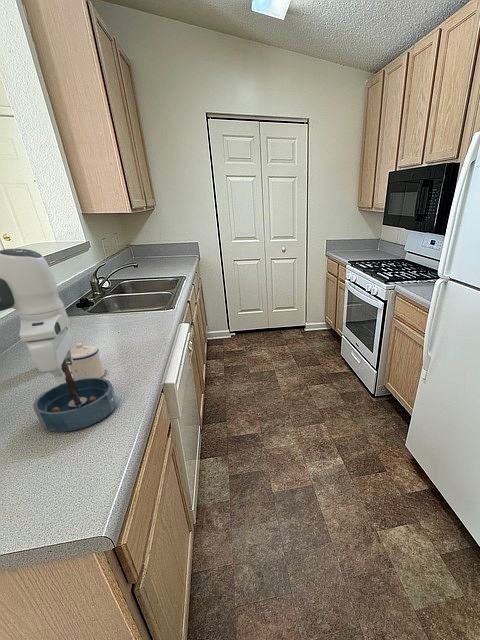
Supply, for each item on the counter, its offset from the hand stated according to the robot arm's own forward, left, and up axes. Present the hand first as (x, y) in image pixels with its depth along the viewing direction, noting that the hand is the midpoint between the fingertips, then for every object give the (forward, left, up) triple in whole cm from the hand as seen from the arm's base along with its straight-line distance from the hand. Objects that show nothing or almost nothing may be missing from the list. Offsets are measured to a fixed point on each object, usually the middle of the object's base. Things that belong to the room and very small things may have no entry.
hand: (65, 371), depth 84 cm
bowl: (0, 0, -13) cm, 13 cm away
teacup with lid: (-2, +22, -13) cm, 26 cm away
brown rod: (0, 0, -12) cm, 12 cm away
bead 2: (+3, +3, -11) cm, 12 cm away
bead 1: (-6, +1, -11) cm, 13 cm away
